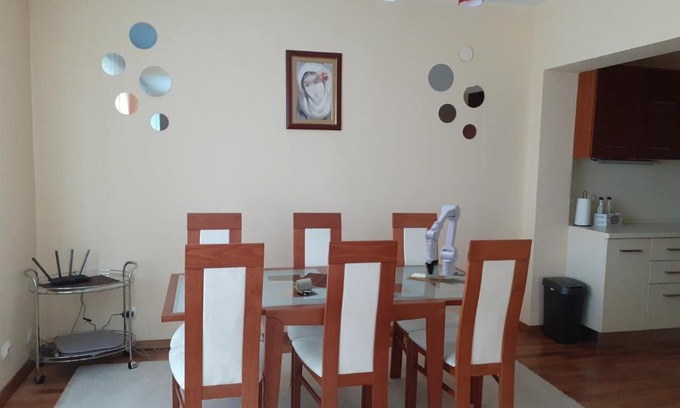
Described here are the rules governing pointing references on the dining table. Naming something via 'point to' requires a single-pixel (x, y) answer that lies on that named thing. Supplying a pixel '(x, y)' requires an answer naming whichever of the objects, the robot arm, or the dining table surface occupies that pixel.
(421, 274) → the pad
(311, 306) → the dining table surface
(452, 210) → the robot arm
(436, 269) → the light blue cube
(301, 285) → the ceramic mug
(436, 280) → the board
